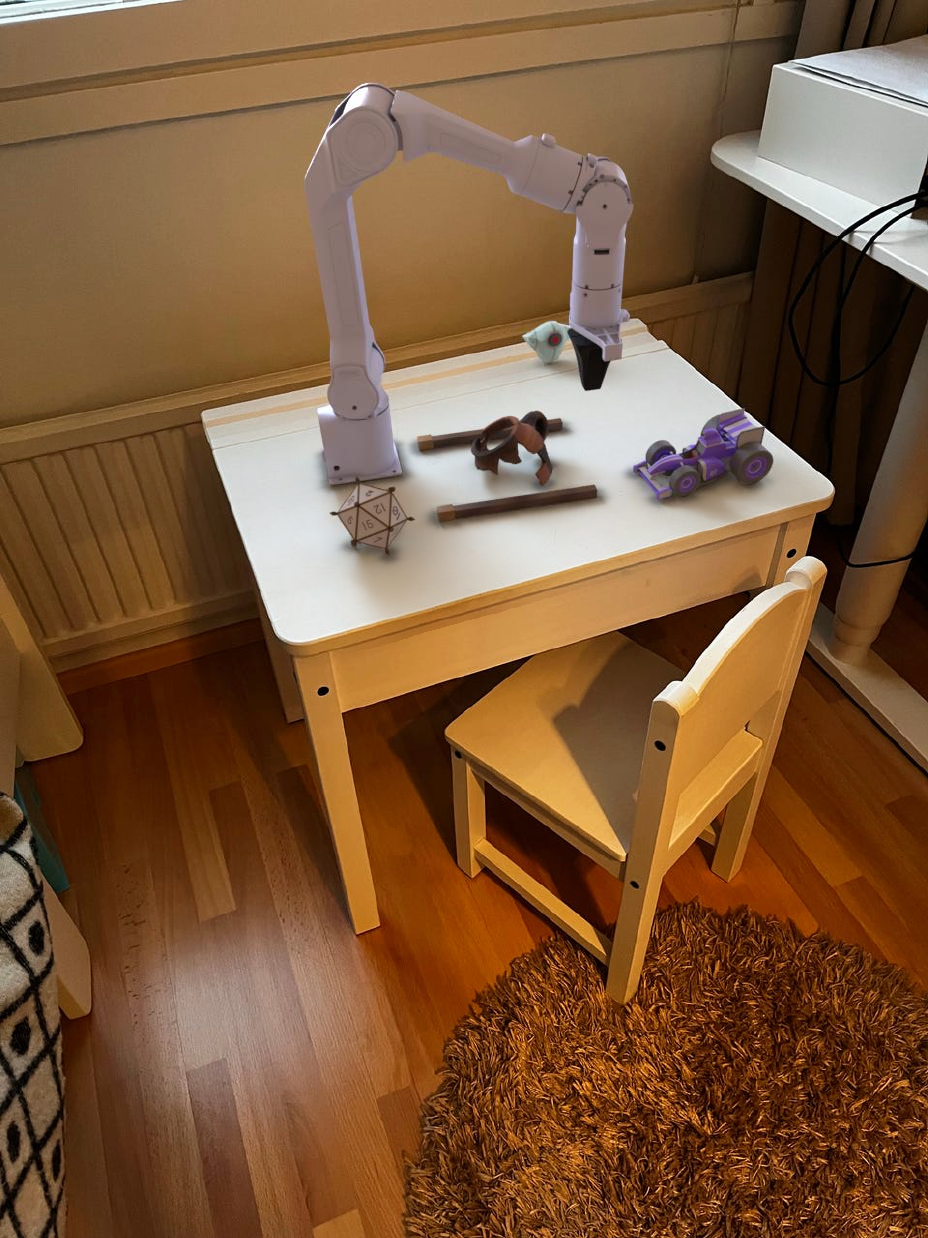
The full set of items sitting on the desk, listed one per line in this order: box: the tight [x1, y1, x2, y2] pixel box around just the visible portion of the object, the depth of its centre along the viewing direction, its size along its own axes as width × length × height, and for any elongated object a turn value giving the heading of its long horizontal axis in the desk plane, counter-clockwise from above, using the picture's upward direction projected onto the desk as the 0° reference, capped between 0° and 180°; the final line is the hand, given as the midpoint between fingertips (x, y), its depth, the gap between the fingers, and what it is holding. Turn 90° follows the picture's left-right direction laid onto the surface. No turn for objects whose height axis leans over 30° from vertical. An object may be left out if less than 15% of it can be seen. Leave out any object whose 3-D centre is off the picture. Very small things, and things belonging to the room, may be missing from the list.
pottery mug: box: [470, 410, 554, 487], centre depth 118 cm, size 12×10×8 cm
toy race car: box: [632, 407, 774, 501], centre depth 114 cm, size 10×15×6 cm, turn 109°
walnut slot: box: [416, 417, 598, 523], centre depth 118 cm, size 20×18×1 cm
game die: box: [329, 477, 416, 556], centre depth 106 cm, size 9×8×10 cm
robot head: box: [521, 320, 571, 364], centre depth 137 cm, size 8×4×7 cm, turn 109°
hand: (591, 387), depth 113 cm, fingers closed
